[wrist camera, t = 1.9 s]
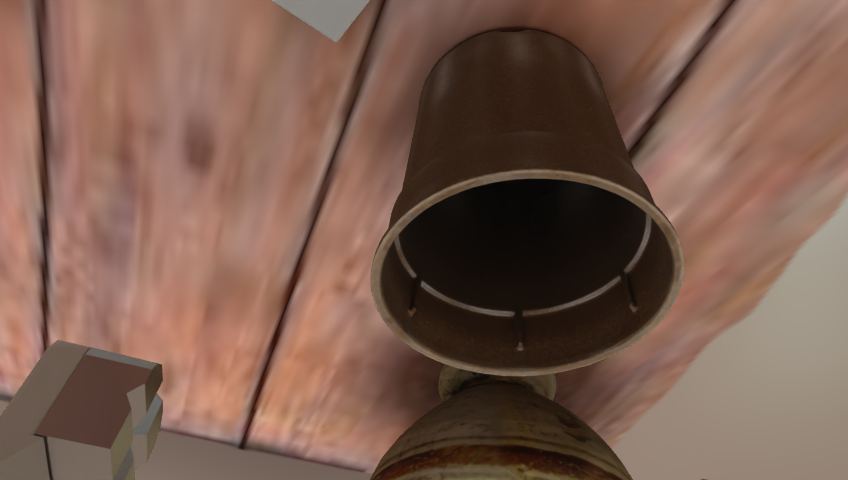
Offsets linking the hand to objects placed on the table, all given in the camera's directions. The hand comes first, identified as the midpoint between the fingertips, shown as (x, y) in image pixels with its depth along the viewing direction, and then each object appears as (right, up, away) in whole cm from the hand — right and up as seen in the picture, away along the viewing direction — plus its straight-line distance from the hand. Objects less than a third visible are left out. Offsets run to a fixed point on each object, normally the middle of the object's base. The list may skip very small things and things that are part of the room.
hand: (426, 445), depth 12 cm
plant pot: (+6, +12, +41) cm, 43 cm away
